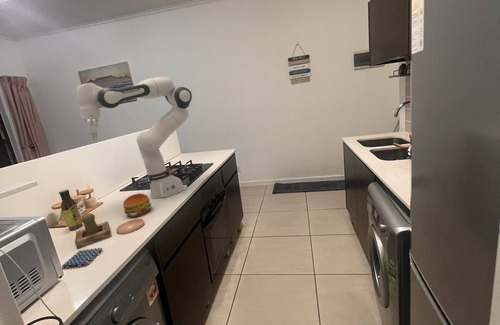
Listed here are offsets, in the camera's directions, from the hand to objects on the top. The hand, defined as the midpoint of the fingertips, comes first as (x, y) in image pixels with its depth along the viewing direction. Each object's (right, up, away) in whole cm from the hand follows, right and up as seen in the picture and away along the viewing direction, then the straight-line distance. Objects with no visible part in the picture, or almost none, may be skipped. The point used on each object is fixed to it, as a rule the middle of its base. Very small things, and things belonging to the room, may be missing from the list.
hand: (95, 141), depth 138 cm
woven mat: (+19, -49, -39) cm, 65 cm away
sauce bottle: (-6, -44, -6) cm, 45 cm away
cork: (+12, -45, -21) cm, 51 cm away
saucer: (+27, -41, -18) cm, 52 cm away
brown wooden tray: (+12, -45, -21) cm, 51 cm away
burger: (+24, -38, -1) cm, 45 cm away
